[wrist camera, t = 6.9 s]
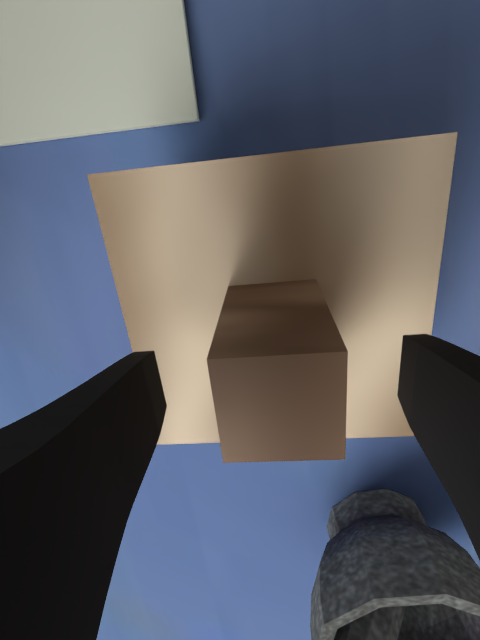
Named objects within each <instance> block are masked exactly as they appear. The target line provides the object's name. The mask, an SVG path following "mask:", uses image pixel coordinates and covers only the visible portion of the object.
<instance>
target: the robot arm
mask: <svg viewBox="0 0 480 640" xmlns="http://www.w3.org/2000/svg"><path fill="white" fill-rule="evenodd" d="M397 396H398V399H399V402H400V404H401V407H402V409H403V412H404V415H405V417H406V419H407V422H408V424H409V426H410V428H411V430H412V432H413V434H414V436H415V437H416V439H417V441H418V443H419V444H420V446H421V448H422V450H423V451H424V453H425V455H426V457H427V458H428V460H429V462H430V464H431V465H432V467H433V469H434V471H435V472H436V474H437V476H438V477H439V479H440V481H441V483H442V484H443V486H444V488H445V490H446V491H447V493H448V495H449V497H450V498H451V500H452V502H453V504H454V506H455V508H456V510H457V512H458V514H459V515H460V517H461V520H462V522H463V524H464V526H465V528H466V531H467V533H468V535H469V537H470V540H471V542H472V544H473V546H474V548H475V551H476V553H477V555H478V557H479V560H480V356H478V355H476V354H474V353H472V352H469V351H467V350H465V349H463V348H460V347H458V346H456V345H454V344H451V343H449V342H447V341H444V340H442V339H439V338H437V337H434V336H431V335H428V334H414V335H403V340H402V351H401V361H400V372H399V383H398V393H397ZM166 408H167V404H166V400H165V396H164V391H163V387H162V382H161V378H160V374H159V369H158V365H157V361H156V356H155V352H154V351H140V352H133V353H131V354H129V355H127V356H126V357H124V358H122V359H120V360H119V361H117V362H116V363H114V364H112V365H111V366H109V367H108V368H106V369H105V370H103V371H102V372H100V373H99V374H97V375H95V376H94V377H92V378H91V379H89V380H88V381H86V382H85V383H83V384H81V385H80V386H78V387H77V388H75V389H73V390H71V391H70V392H68V393H66V394H65V395H63V396H61V397H60V398H58V399H56V400H55V401H53V402H51V403H50V404H48V405H46V406H44V407H43V408H41V409H39V410H37V411H35V412H33V413H32V414H30V415H28V416H26V417H24V418H22V419H20V420H18V421H16V422H14V423H12V424H10V425H8V426H6V427H4V428H1V429H0V640H96V638H97V634H98V630H99V626H100V621H101V617H102V613H103V608H104V604H105V600H106V596H107V593H108V589H109V585H110V581H111V577H112V573H113V570H114V566H115V562H116V558H117V555H118V551H119V548H120V544H121V541H122V537H123V534H124V530H125V527H126V523H127V520H128V517H129V514H130V511H131V509H132V506H133V503H134V501H135V498H136V495H137V493H138V490H139V488H140V485H141V483H142V480H143V478H144V475H145V473H146V470H147V468H148V465H149V463H150V460H151V458H152V455H153V453H154V450H155V447H156V445H157V442H158V440H159V437H160V434H161V430H162V426H163V422H164V417H165V413H166Z"/></svg>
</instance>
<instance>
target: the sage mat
mask: <svg viewBox="0 0 480 640" xmlns="http://www.w3.org/2000/svg"><path fill="white" fill-rule="evenodd" d="M197 121H199V113H198V106H197V98H196V90H195V83H194V75H193V67H192V60H191V52H190V44H189V37H188V29H187V21H186V14H185V6H184V0H0V146H8V145H16V144H24V143H32V142H39V141H47V140H55V139H63V138H71V137H79V136H87V135H95V134H103V133H110V132H118V131H126V130H134V129H142V128H150V127H158V126H166V125H174V124H182V123H189V122H197Z"/></svg>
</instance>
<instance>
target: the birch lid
mask: <svg viewBox="0 0 480 640" xmlns="http://www.w3.org/2000/svg"><path fill="white" fill-rule="evenodd" d="M457 134H458V132H453V133H444V134H435V135H427V136H418V137H409V138H400V139H392V140H383V141H374V142H366V143H357V144H348V145H340V146H331V147H322V148H314V149H305V150H296V151H287V152H279V153H270V154H261V155H253V156H244V157H235V158H227V159H218V160H209V161H201V162H192V163H183V164H174V165H166V166H157V167H148V168H140V169H131V170H122V171H114V172H105V173H96V174H87V176H88V180H89V184H90V188H91V192H92V196H93V200H94V204H95V207H96V211H97V215H98V219H99V223H100V227H101V231H102V235H103V239H104V242H105V246H106V250H107V254H108V258H109V262H110V266H111V270H112V273H113V277H114V281H115V285H116V289H117V293H118V297H119V301H120V305H121V308H122V312H123V316H124V320H125V324H126V328H127V332H128V336H129V340H130V343H131V347H132V351H133V352H140V351H154V352H155V356H156V361H157V365H158V369H159V374H160V378H161V382H162V387H163V391H164V396H165V400H166V404H167V408H166V413H165V417H164V422H163V426H162V430H161V434H160V437H159V440H158V442H157V445H158V444H188V443H218V442H220V445H221V451H222V458H223V463H230V462H266V461H303V460H340V459H345V450H346V438H369V437H399V436H414V434H413V432H412V430H411V428H410V426H409V424H408V422H407V419H406V417H405V415H404V412H403V409H402V407H401V404H400V402H399V399H398V396H397V393H398V383H399V372H400V361H401V351H402V340H403V335H414V334H428V335H431V334H432V326H433V318H434V311H435V303H436V295H437V287H438V280H439V272H440V264H441V257H442V249H443V241H444V234H445V226H446V218H447V211H448V203H449V195H450V188H451V180H452V172H453V165H454V157H455V149H456V141H457Z"/></svg>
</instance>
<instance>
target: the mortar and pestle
mask: <svg viewBox="0 0 480 640" xmlns="http://www.w3.org/2000/svg"><path fill="white" fill-rule="evenodd" d="M327 529H328V533H329V537H330V541H329V542H328V543H327V545H326V548H325V551H324V554H323V556H322V559H321V562H320V565H319V569H318V572H317V576H316V580H315V583H314V587H313V591H312V594H311V623H310V627H311V638H312V640H480V568H479V567H478V566H477V564H476V563H475V561H474V560H473V559H472V557H471V556H470V554H469V553H468V552H467V551H466V550H465V549H464V548H462V547H461V546H460V545H459V544H457V543H456V542H455V541H454V540H452V539H451V538H450V537H449V536H448V535H446V534H445V533H444V532H441V531H439V530H436V529H433V528H431V527H428V526H427V525H426V522H425V520H424V517H423V515H422V514H421V512H420V510H419V508H418V507H417V505H416V503H415V502H414V500H413V498H410V497H407V496H404V495H402V494H399V493H396V492H393V491H391V490H388V489H379V490H370V491H361V492H354V493H353V494H351V495H350V496H348V497H347V498H345V499H344V500H342V501H341V502H339V503H338V504H336V505H335V506H333V507H332V510H331V514H330V518H329V521H328V525H327Z"/></svg>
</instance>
